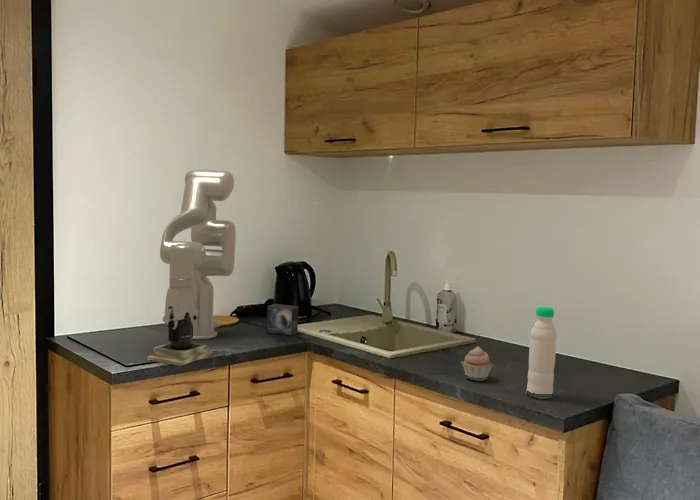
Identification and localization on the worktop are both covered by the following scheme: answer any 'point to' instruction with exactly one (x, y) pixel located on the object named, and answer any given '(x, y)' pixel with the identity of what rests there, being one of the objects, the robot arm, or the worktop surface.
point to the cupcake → (477, 363)
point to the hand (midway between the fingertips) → (180, 338)
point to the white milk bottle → (542, 353)
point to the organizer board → (179, 354)
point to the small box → (282, 319)
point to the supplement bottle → (183, 334)
